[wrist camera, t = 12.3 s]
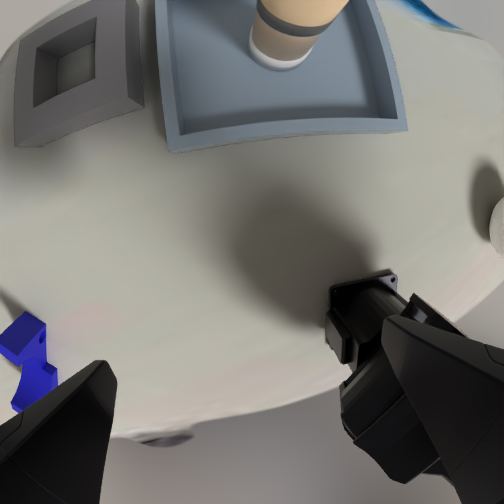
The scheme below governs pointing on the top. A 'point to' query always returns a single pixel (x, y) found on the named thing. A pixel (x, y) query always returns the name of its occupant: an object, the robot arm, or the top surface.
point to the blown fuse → (289, 30)
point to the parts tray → (271, 77)
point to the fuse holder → (89, 93)
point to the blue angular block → (28, 360)
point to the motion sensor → (498, 228)
